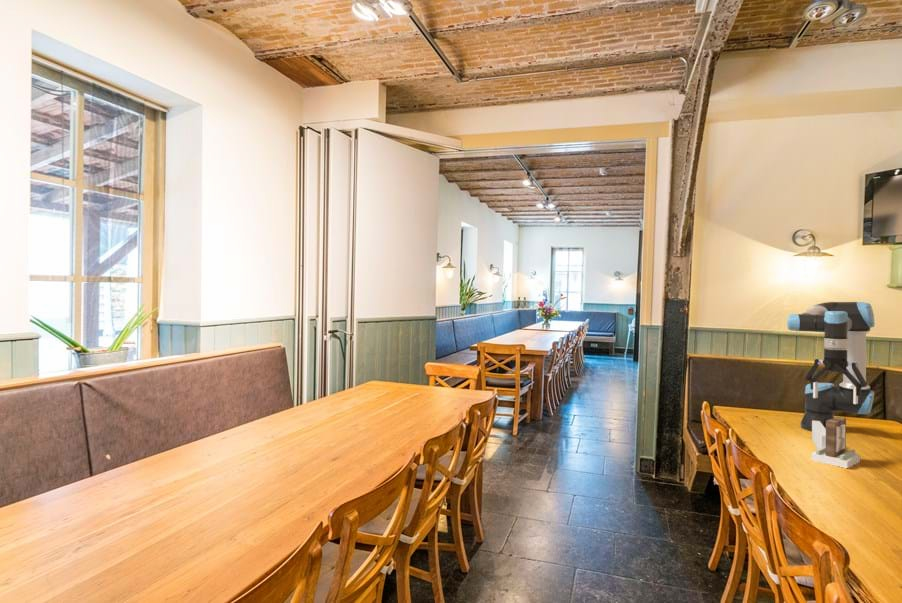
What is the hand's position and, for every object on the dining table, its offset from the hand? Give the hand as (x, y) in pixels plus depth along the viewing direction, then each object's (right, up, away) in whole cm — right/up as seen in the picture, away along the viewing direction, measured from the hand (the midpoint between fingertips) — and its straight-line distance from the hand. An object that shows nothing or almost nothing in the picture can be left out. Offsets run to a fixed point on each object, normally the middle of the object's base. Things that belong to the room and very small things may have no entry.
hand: (834, 400), depth 202 cm
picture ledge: (0, -25, -1) cm, 25 cm away
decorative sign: (+8, -25, +19) cm, 32 cm away
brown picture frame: (0, -22, -1) cm, 22 cm away
